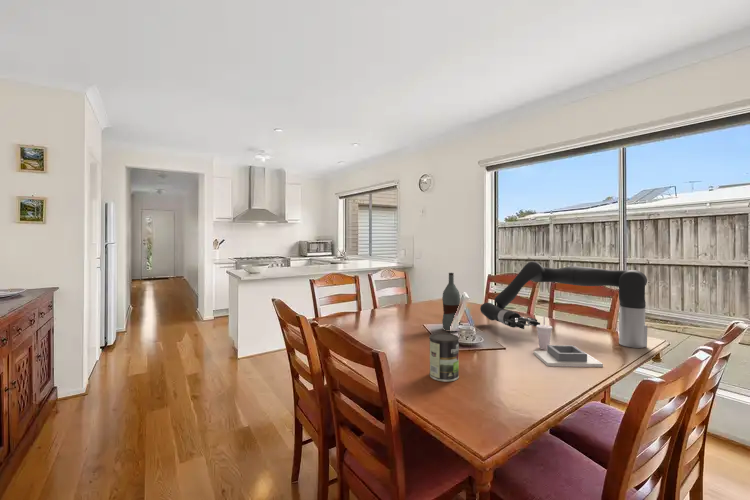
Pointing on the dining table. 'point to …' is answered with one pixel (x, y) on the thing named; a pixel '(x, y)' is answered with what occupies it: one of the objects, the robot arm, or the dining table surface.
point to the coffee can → (444, 357)
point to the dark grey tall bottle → (450, 302)
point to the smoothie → (544, 335)
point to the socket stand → (566, 357)
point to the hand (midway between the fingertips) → (531, 325)
